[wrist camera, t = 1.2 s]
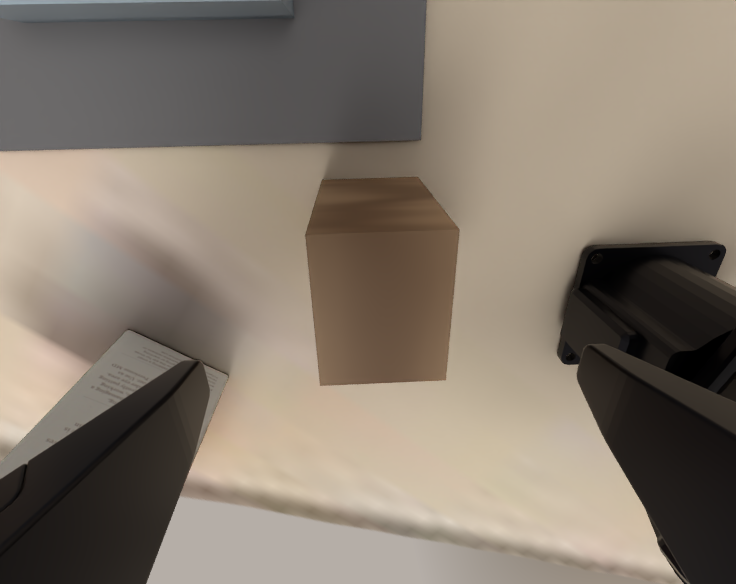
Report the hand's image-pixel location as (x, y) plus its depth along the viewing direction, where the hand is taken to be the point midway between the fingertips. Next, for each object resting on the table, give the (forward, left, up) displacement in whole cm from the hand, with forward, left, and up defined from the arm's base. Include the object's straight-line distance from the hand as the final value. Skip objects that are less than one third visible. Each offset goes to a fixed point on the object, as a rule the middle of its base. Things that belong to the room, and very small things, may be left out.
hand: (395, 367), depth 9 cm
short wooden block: (0, 0, -9) cm, 9 cm away
